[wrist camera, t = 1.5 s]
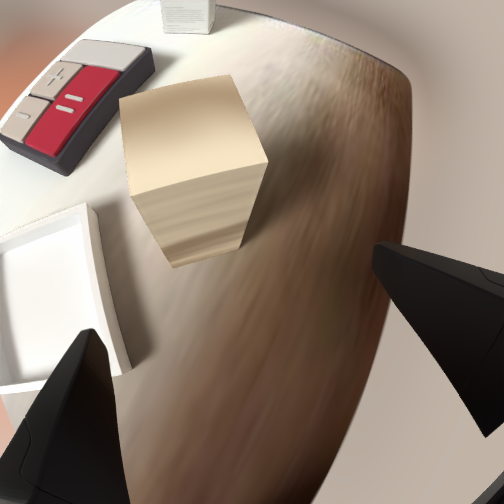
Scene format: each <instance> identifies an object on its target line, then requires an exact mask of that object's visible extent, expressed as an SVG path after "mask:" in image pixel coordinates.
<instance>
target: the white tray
mask: <svg viewBox="0 0 504 504" xmlns="http://www.w3.org/2000/svg"><path fill="white" fill-rule="evenodd" d="M88 328H94V329H95V330H96V332H97V333H98V335H99V336H100V338H101V340H102V341H103V343H104V344H105V346H106V348H107V350H108V355H109V363H110V369H111V376H117V375H122V374H124V373H126V372H128V371H130V370H132V367H131V364H130V361H129V358H128V355H127V351H126V348H125V345H124V341H123V338H122V334H121V331H120V327H119V323H118V320H117V316H116V312H115V308H114V304H113V299H112V295H111V291H110V286H109V281H108V277H107V272H106V266H105V261H104V256H103V250H102V244H101V238H100V231H99V224H98V216H97V214H96V213H95V212H94V211H93V209H92V208H91V207H90V206H89V205H88V204H87V203H86V202H85V203H82V204H79V205H77V206H74V207H71V208H68V209H66V210H63V211H61V212H58V213H55V214H53V215H50V216H48V217H45V218H43V219H40V220H38V221H35V222H33V223H31V224H28V225H26V226H23V227H21V228H19V229H17V230H14V231H12V232H10V233H8V234H5V235H3V236H1V237H0V394H7V393H16V392H24V391H32V390H39V389H42V387H43V386H44V384H45V383H46V381H47V379H48V378H49V376H50V375H51V373H52V372H53V370H54V369H55V367H56V366H57V364H58V363H59V361H60V360H61V358H62V357H63V355H64V354H65V352H66V351H67V349H68V348H69V346H70V345H71V344H72V342H73V341H74V339H75V338H76V336H77V335H78V334H79V332H80V331H81V330H84V329H88Z"/></svg>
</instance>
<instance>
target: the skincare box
mask: <svg viewBox="0 0 504 504" xmlns="http://www.w3.org/2000/svg"><path fill="white" fill-rule="evenodd" d="M160 1H161V10H162V19H163V29H164V33H196V34H209V32H210V30H211V28H212V26H213V24H214V22H215V4H216V0H160Z"/></svg>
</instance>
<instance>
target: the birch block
mask: <svg viewBox="0 0 504 504" xmlns="http://www.w3.org/2000/svg"><path fill="white" fill-rule="evenodd" d="M119 107H120V119H121V130H122V139H123V148H124V156H125V164H126V171H127V178H128V184H129V190H130V196H131V198H132V200H133V202H134V204H135V205H136V207H137V209H138V211H139V212H140V214H141V216H142V218H143V219H144V221H145V223H146V225H147V226H148V228H149V230H150V231H151V233H152V235H153V236H154V238H155V240H156V241H157V243H158V245H159V246H160V248H161V250H162V251H163V253H164V255H165V256H166V258H167V259H168V261H169V263H170V264H171V266H172V268H176V267H179V266H183V265H186V264H190V263H193V262H197V261H200V260H204V259H207V258H211V257H214V256H218V255H221V254H225V253H228V252H232V251H235V250H238V249H239V247H240V244H241V241H242V238H243V235H244V232H245V229H246V226H247V223H248V220H249V217H250V214H251V211H252V208H253V205H254V202H255V199H256V196H257V194H258V191H259V188H260V185H261V182H262V179H263V176H264V173H265V170H266V167H267V165H268V160H267V157H266V155H265V152H264V150H263V148H262V145H261V143H260V140H259V138H258V136H257V133H256V131H255V129H254V126H253V124H252V122H251V119H250V117H249V115H248V113H247V110H246V108H245V106H244V104H243V101H242V99H241V97H240V95H239V92H238V90H237V88H236V86H235V84H234V82H233V79H232V77H231V75H224V76H217V77H210V78H204V79H199V80H193V81H188V82H183V83H178V84H173V85H169V86H165V87H160V88H156V89H152V90H148V91H144V92H141V93H137V94H133V95H130V96H127V97H123V98H120V99H119Z"/></svg>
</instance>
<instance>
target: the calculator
mask: <svg viewBox="0 0 504 504" xmlns="http://www.w3.org/2000/svg"><path fill="white" fill-rule="evenodd" d="M154 72H155V66H154V61H153V56H152V51H151V48H148V47H142V46H136V45H130V44H123V43H116V42H108V41H98V40H87V39H83V40H80V41H79V42H78V43H77V44H76V45H74V46H73V47H72V48H71V49H70V50H69V51H68V52H67V53H66V54H65V55H64V56H63V57H62V58H61V60H60V61H57V62H56V63H55V64H54V65H53V66H52V67H51V68H50V69H49V70H48V71H47V72H46V73H45V74H44V75H43V76H42V77H41V79H40V80H39V81H38V82H37V83H36V84H35V85H34V87H33V88H32V89H31V90H30V94H29V95H28V96H26V97H25V98H24V99H23V100H22V101H21V102H20V104H19V105H18V106H17V108H16V109H15V110H14V112H13V113H12V114H11V116H10V117H9V118H8V120H7V121H6V123H5V124H4V126H3V127H2V128H1V130H0V132H1V133H0V140H1V141H2V142H3V143H4V144H5V145H6V146H7V147H8V148H9V149H10V150H12V151H14V152H16V153H18V154H20V155H22V156H24V157H26V158H28V159H30V160H32V161H34V162H36V163H38V164H40V165H43V166H45V167H47V168H49V169H51V170H53V171H55V172H57V173H59V174H61V175H63V176H69V175H70V174H71V173H72V171H73V170H74V168H75V167H76V166H77V164H78V163H79V161H80V160H81V158H82V157H83V156H84V154H85V153H86V151H87V150H88V149H89V147H90V146H91V145H92V143H93V142H94V141H95V139H96V138H97V137H98V135H99V134H100V133H101V131H102V130H103V129H104V127H105V126H106V125H107V124H108V122H109V121H110V120H111V118H112V117H113V116H114V115H115V113H116V112H117V111H118V109H119V108H120V107H119V99H120V98H123V97H127V96H130V95H132V94H134V93H135V92H136V91H137V89H138V88H139V87H140V86H141V85H142V84H143V83H144V82H145V81H146V80H147V79H148V78H149V77H150V76H151V75H152V74H153V73H154Z"/></svg>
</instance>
